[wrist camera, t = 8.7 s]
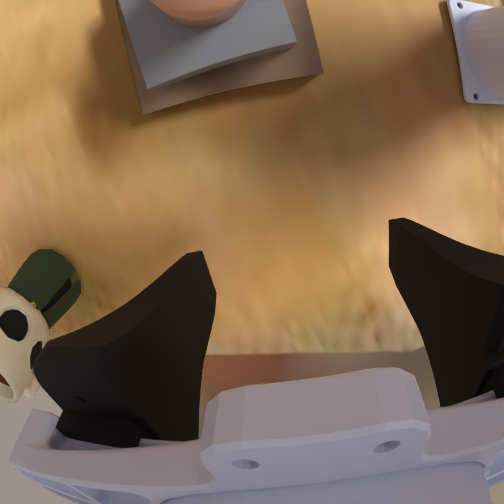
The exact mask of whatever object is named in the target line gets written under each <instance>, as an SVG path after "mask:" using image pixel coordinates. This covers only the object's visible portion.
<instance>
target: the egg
mask: <svg viewBox="0 0 504 504" xmlns="http://www.w3.org/2000/svg"><path fill="white" fill-rule="evenodd" d="M150 1H151V2H153V3H154V4H155V5H156V6H157V7H158V8H160V9H161V10H162V11H163V12H164V13H165V14H166V15H168V16H169V17H170V18H171V19H172V20H174V21H175V22H177V23H179V24H181V25H184V26H188V27H194V28H204V27H211V26H215V25H218V24H220V23H223V22H225V21H227V20H228V19H230V18H231V17H233V16H234V15H235V14H236V13H237V12H238V11H239V10H240V9H241V7H242V6H243V4H244V2H245V0H150Z"/></svg>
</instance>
